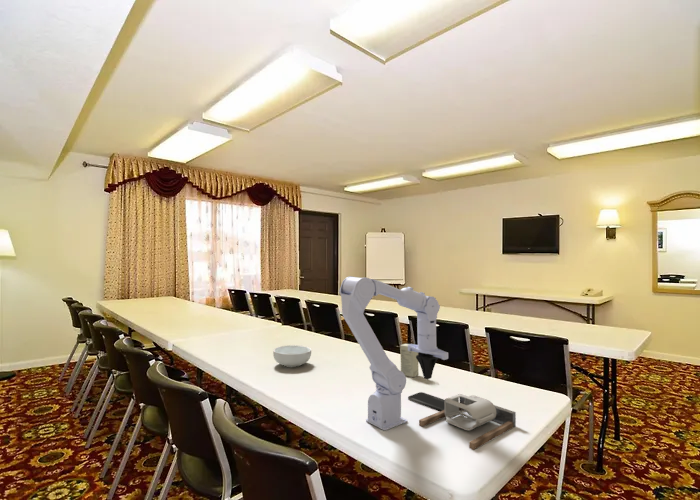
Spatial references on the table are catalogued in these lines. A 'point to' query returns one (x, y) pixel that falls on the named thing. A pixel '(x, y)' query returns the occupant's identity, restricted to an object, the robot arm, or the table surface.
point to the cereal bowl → (292, 355)
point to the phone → (428, 401)
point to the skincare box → (408, 361)
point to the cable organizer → (469, 411)
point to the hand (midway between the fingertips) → (427, 378)
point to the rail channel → (502, 416)
